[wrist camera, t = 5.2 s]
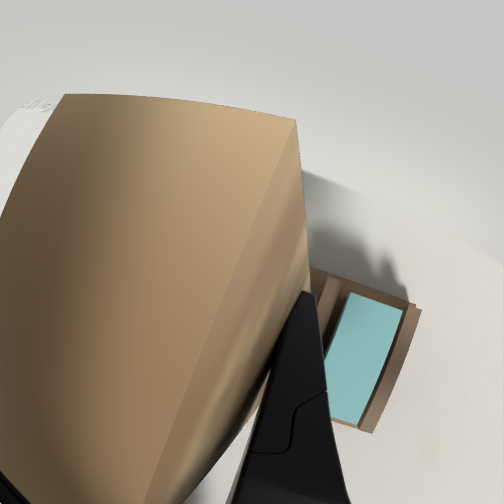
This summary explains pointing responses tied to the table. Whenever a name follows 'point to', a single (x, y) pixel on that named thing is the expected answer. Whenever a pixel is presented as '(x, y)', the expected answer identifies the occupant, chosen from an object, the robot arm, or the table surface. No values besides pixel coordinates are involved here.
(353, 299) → the offcut upper
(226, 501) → the robot arm
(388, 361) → the rack
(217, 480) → the table surface
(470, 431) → the table surface
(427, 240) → the table surface
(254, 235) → the oak board
